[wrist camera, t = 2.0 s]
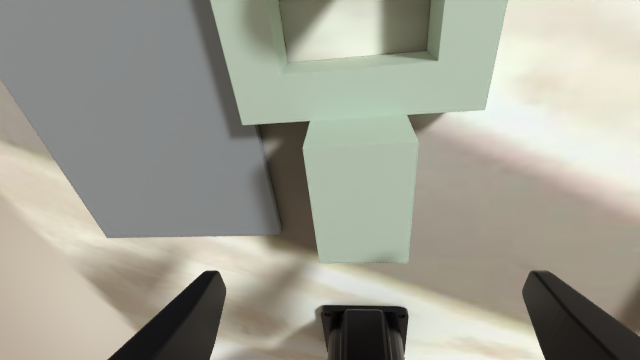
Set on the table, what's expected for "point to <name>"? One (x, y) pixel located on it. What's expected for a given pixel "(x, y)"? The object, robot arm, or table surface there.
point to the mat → (139, 114)
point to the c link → (360, 114)
